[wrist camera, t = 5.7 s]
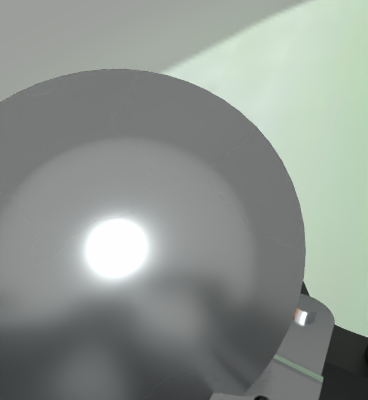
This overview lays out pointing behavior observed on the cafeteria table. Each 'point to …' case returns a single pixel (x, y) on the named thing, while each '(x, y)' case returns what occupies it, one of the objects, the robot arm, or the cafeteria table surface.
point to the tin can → (140, 241)
